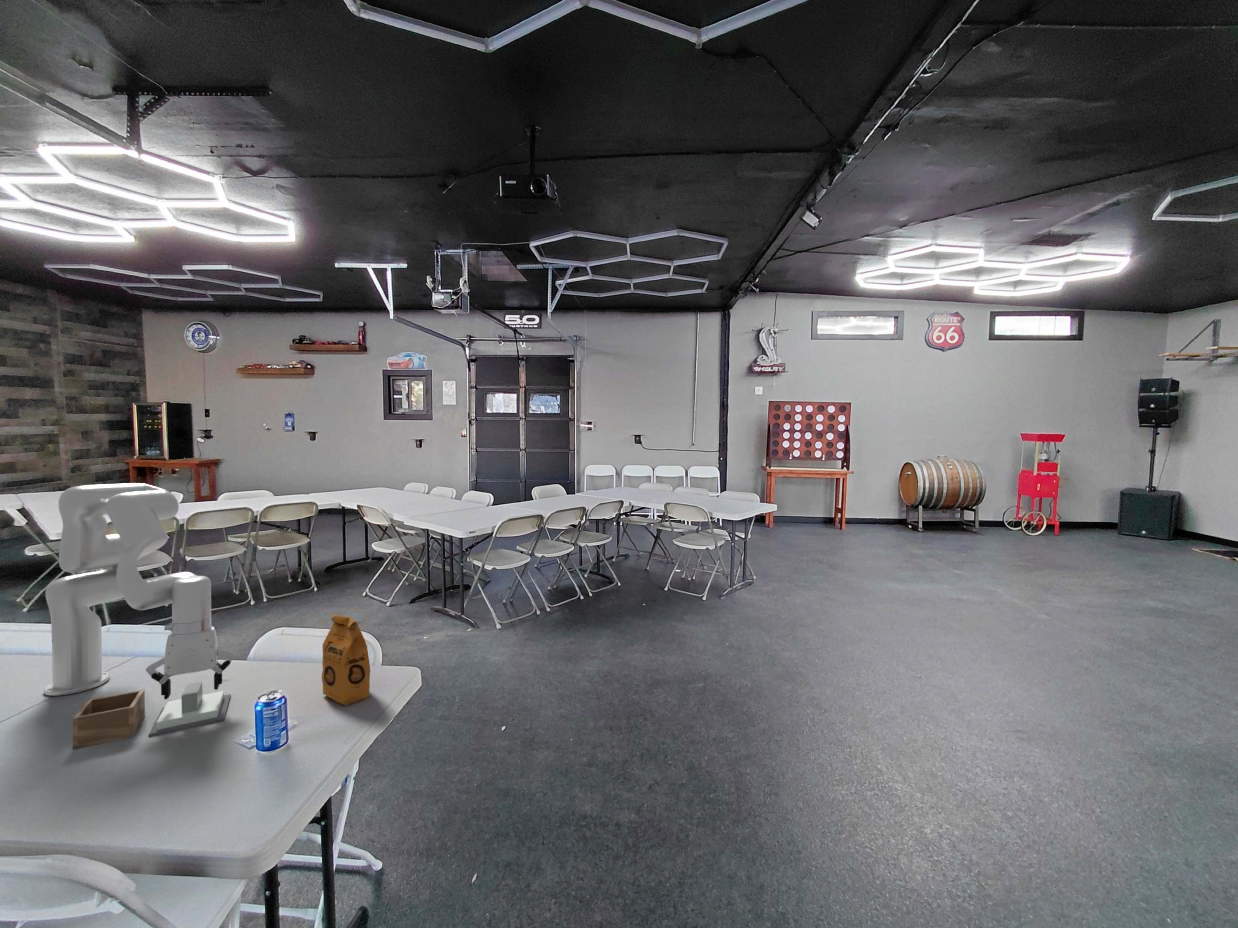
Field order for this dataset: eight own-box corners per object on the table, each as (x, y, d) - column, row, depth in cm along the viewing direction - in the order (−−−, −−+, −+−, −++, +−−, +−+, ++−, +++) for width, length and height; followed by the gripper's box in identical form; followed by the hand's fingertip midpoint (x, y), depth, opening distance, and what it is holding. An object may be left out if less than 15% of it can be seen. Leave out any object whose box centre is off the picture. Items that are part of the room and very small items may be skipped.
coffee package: (338, 710, 130) (338, 628, 129) (317, 696, 137) (317, 617, 137) (375, 696, 138) (376, 618, 137) (354, 682, 145) (354, 608, 145)
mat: (162, 709, 129) (162, 707, 129) (230, 696, 136) (230, 693, 136) (148, 736, 117) (148, 733, 117) (224, 719, 125) (224, 717, 125)
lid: (168, 708, 128) (167, 684, 128) (223, 697, 134) (223, 674, 134) (156, 729, 119) (156, 703, 119) (217, 716, 125) (217, 692, 125)
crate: (88, 727, 120) (88, 699, 120) (144, 716, 125) (144, 689, 125) (72, 749, 112) (72, 718, 111) (133, 736, 117) (133, 706, 117)
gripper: (141, 637, 118) (142, 707, 119) (233, 624, 128) (233, 689, 128) (149, 627, 124) (150, 694, 125) (236, 615, 134) (236, 678, 134)
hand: (192, 692), depth 127 cm, fingers open, 9 cm apart
